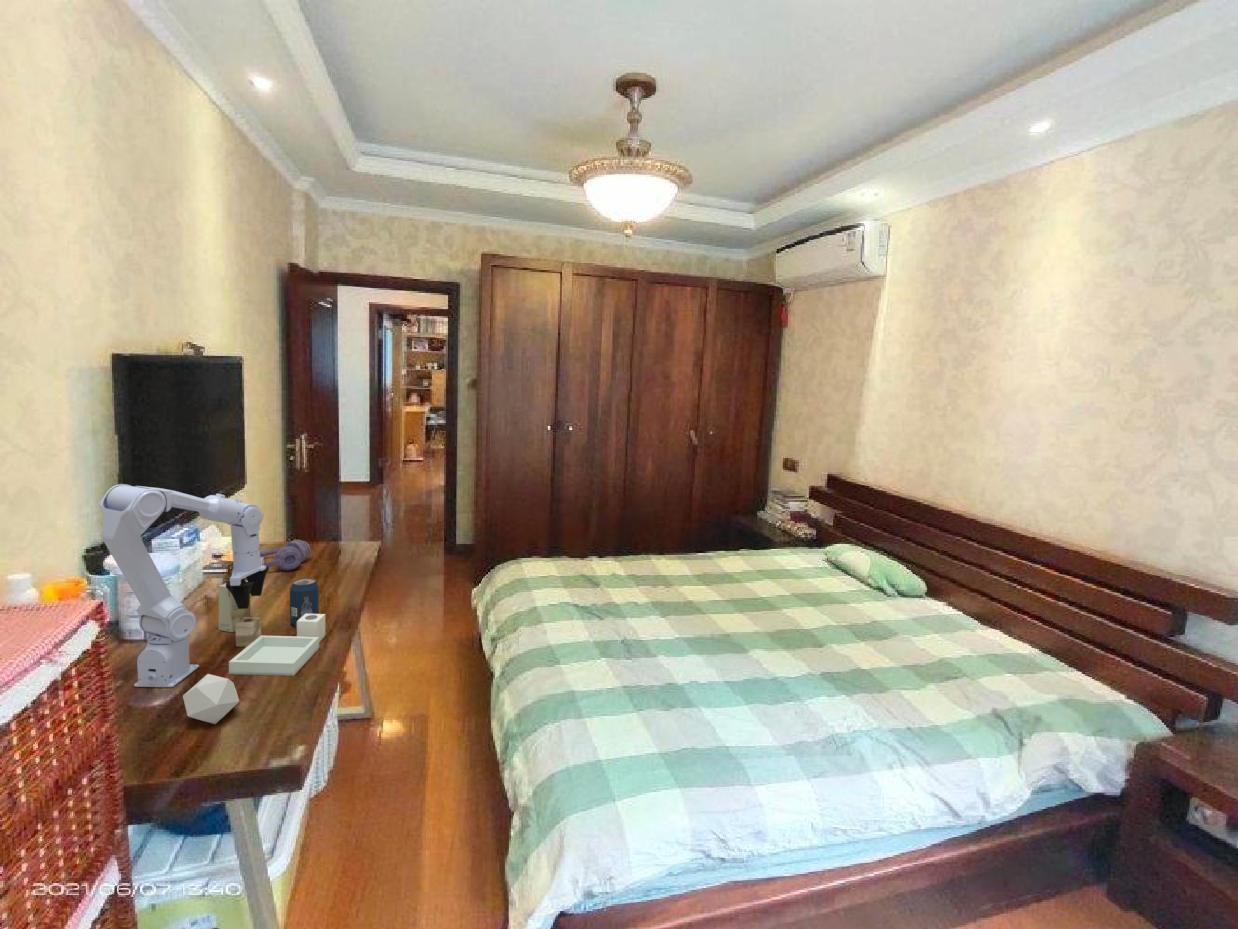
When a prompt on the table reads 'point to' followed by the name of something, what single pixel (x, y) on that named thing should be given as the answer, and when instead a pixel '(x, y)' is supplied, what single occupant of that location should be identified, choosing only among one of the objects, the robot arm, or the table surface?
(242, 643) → the birch block
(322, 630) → the oversize block
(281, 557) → the headphones
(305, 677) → the table surface
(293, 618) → the soda can
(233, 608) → the skincare box
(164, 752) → the table surface
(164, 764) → the table surface
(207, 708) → the die
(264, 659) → the tray
